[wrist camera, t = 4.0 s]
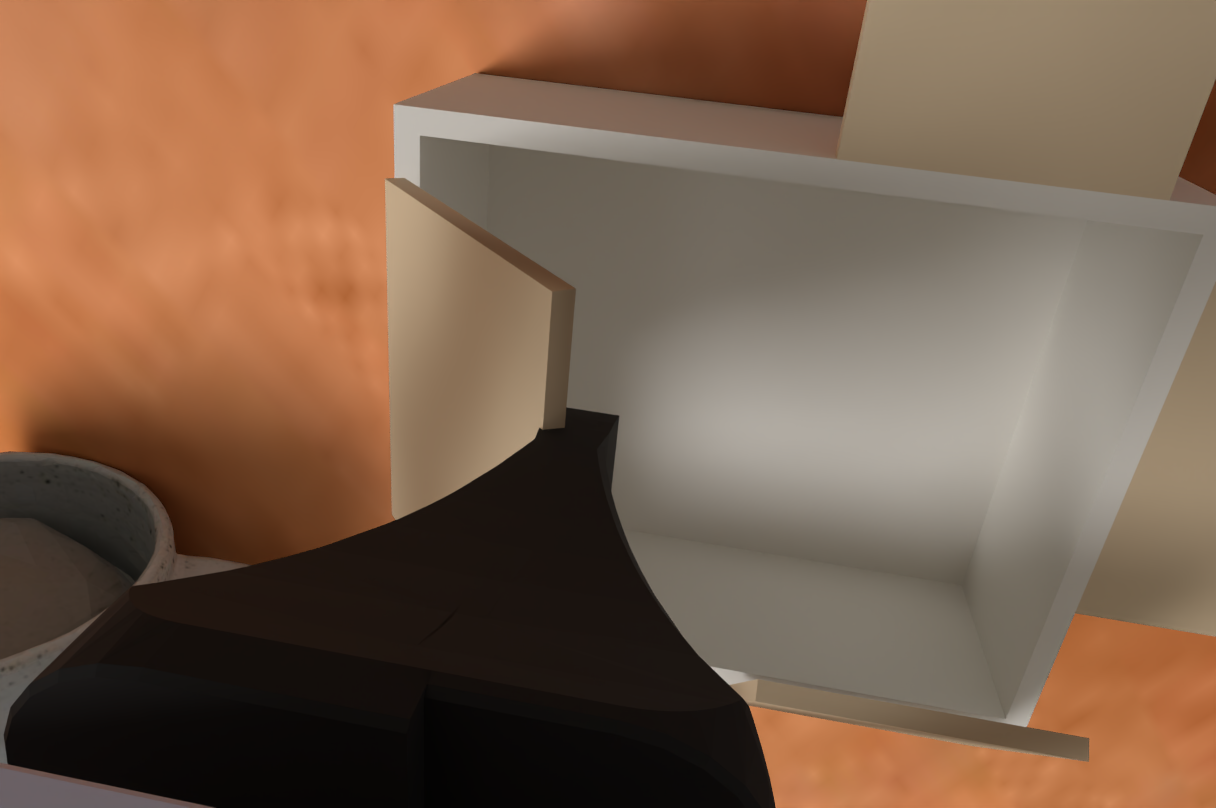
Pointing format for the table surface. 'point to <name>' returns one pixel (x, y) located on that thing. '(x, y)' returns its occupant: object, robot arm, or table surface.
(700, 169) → the carton
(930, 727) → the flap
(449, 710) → the robot arm
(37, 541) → the ceramic mug
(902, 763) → the table surface
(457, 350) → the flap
